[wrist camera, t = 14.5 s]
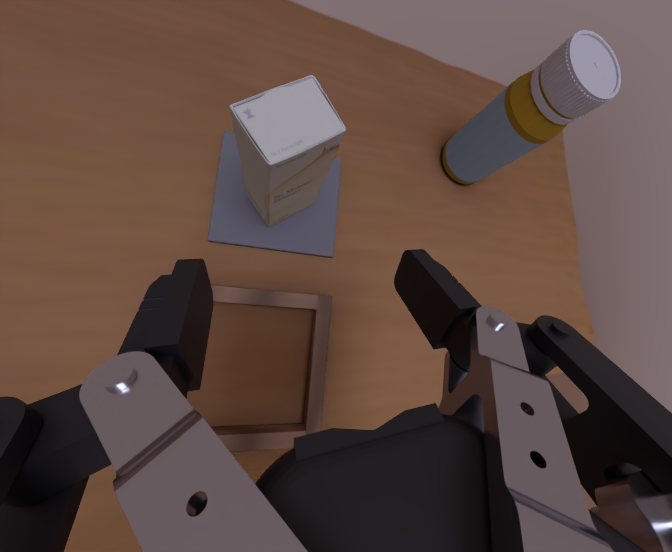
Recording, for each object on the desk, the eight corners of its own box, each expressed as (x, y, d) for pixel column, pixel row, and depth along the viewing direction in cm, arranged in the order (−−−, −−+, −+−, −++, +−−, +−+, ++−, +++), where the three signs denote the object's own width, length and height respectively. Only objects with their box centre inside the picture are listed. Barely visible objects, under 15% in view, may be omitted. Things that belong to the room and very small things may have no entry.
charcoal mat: (209, 241, 25) (207, 240, 24) (225, 134, 27) (224, 130, 26) (331, 257, 28) (333, 256, 28) (339, 161, 30) (341, 158, 29)
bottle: (434, 139, 34) (557, 19, 19) (475, 139, 36) (613, 30, 21) (444, 188, 33) (576, 102, 19) (484, 185, 35) (632, 105, 21)
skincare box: (268, 228, 26) (266, 170, 14) (245, 193, 26) (224, 104, 14) (316, 202, 28) (350, 131, 16) (295, 168, 28) (313, 71, 16)
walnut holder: (154, 446, 22) (145, 457, 21) (180, 283, 24) (174, 281, 22) (316, 437, 26) (319, 446, 24) (328, 296, 28) (331, 296, 26)
